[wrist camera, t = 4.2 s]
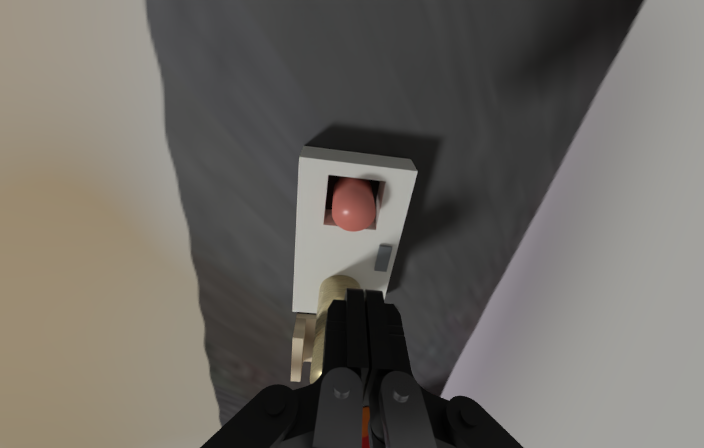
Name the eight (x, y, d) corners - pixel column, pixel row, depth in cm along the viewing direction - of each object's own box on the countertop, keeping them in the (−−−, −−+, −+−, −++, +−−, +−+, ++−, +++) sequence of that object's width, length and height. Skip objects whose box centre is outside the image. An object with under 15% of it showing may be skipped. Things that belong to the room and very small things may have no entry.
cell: (320, 273, 25) (311, 367, 17) (363, 276, 25) (371, 371, 18) (317, 303, 26) (307, 400, 19) (357, 307, 27) (362, 403, 20)
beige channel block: (297, 313, 31) (292, 337, 28) (369, 318, 31) (372, 343, 29) (294, 355, 34) (290, 381, 32) (360, 360, 35) (361, 385, 32)
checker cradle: (303, 145, 22) (298, 158, 19) (410, 159, 22) (418, 172, 20) (296, 291, 29) (291, 314, 27) (376, 298, 30) (379, 320, 27)
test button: (335, 170, 22) (334, 190, 19) (374, 175, 23) (379, 195, 20) (331, 206, 24) (329, 229, 21) (368, 210, 24) (371, 233, 21)
